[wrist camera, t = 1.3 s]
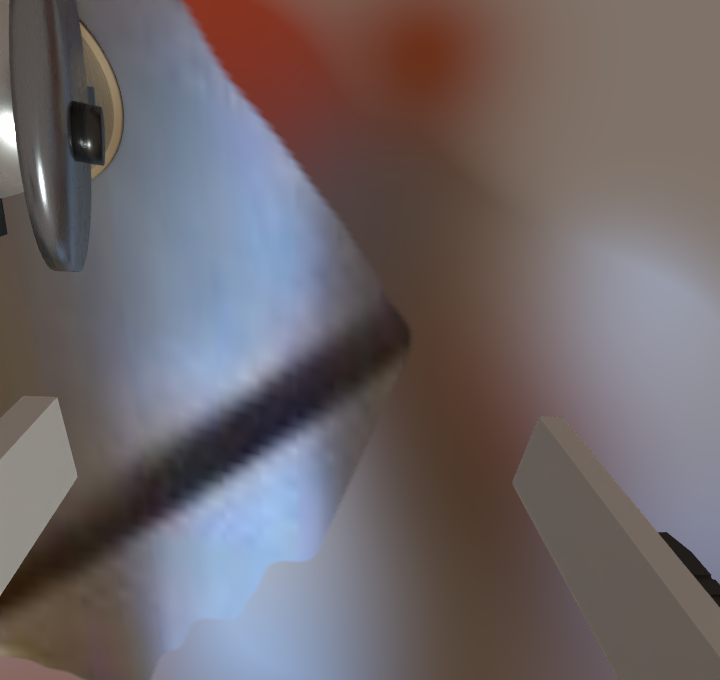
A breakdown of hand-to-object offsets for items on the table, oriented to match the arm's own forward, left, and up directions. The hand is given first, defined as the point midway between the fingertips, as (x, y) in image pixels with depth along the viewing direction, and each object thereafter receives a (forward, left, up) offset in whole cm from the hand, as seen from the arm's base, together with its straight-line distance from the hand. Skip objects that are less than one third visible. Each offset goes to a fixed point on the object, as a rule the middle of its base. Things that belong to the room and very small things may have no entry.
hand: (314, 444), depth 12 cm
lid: (-14, +5, -16) cm, 22 cm away
